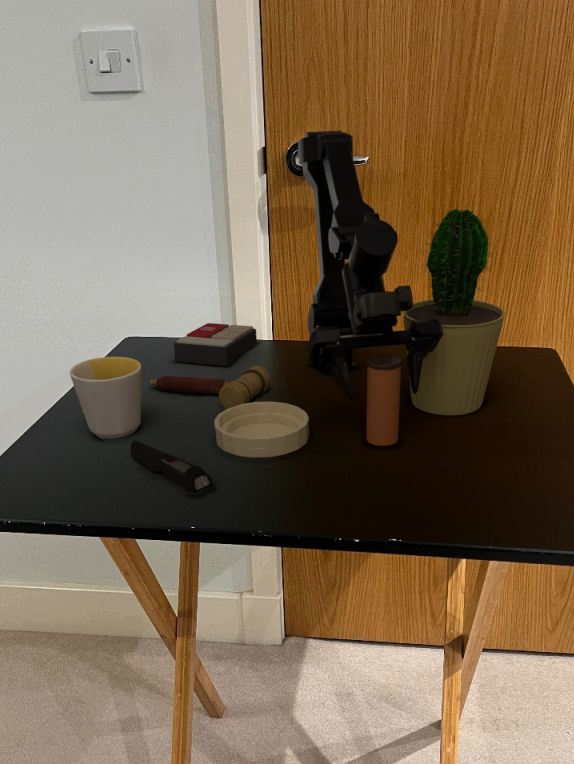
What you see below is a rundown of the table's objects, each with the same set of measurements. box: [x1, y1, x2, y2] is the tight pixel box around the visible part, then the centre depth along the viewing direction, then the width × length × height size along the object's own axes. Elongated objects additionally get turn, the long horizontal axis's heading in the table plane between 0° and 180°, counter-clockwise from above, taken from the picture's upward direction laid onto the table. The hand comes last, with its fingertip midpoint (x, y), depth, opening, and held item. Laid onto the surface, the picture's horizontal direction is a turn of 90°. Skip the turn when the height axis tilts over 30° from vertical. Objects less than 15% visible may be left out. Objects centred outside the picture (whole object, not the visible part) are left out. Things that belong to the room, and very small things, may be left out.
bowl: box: [213, 401, 310, 459], centre depth 111 cm, size 14×14×4 cm
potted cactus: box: [401, 205, 506, 416], centre depth 116 cm, size 15×15×30 cm
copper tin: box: [365, 353, 403, 446], centre depth 107 cm, size 5×5×12 cm
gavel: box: [149, 365, 272, 410], centre depth 128 cm, size 21×5×10 cm
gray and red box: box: [173, 322, 258, 367], centre depth 147 cm, size 11×4×15 cm
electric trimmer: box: [130, 440, 214, 494], centre depth 103 cm, size 4×16×3 cm, turn 45°
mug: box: [69, 356, 143, 440], centre depth 115 cm, size 14×10×10 cm
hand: (384, 395), depth 106 cm, fingers open, 9 cm apart
